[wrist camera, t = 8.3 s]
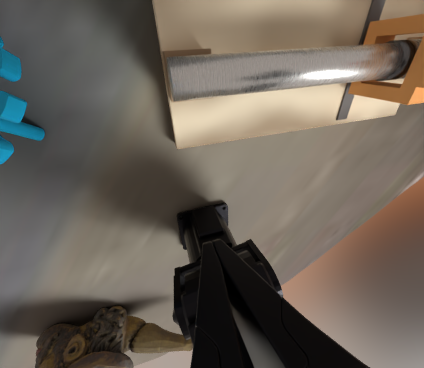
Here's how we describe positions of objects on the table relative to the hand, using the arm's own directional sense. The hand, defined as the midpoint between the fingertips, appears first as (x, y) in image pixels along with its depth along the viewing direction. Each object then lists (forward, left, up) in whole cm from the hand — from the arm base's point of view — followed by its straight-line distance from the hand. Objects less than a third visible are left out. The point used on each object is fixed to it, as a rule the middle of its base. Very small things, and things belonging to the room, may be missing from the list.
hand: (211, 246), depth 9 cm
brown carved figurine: (-27, +13, -13) cm, 33 cm away
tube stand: (+6, -13, -13) cm, 19 cm away
